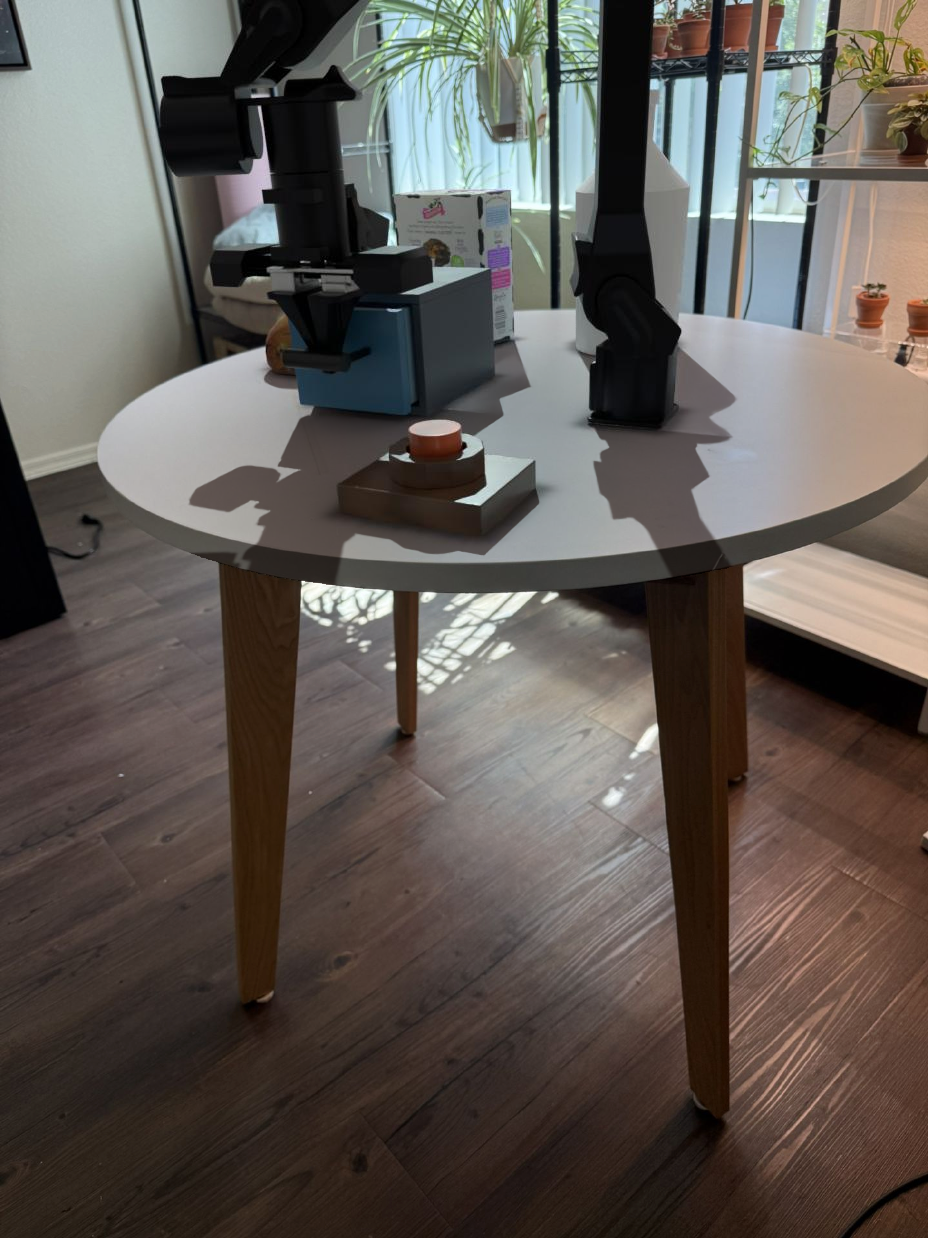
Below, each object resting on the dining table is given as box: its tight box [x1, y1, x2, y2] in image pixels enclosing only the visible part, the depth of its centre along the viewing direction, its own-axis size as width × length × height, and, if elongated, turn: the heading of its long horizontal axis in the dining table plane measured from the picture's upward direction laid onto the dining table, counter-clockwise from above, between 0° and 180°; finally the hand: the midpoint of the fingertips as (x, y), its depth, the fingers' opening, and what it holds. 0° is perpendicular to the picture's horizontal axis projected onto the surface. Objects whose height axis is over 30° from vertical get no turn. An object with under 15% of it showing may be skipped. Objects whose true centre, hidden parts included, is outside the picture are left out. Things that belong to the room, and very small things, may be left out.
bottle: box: [575, 88, 691, 356], centre depth 94 cm, size 12×12×25 cm
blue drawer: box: [282, 302, 419, 416], centre depth 81 cm, size 18×11×9 cm, turn 153°
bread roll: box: [265, 314, 296, 376], centre depth 98 cm, size 10×10×8 cm
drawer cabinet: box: [358, 267, 496, 417], centre depth 85 cm, size 15×13×11 cm
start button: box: [407, 419, 463, 458], centre depth 60 cm, size 4×4×2 cm
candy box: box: [391, 188, 515, 345], centre depth 104 cm, size 14×6×16 cm, turn 48°
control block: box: [335, 433, 537, 538], centre depth 61 cm, size 11×9×4 cm
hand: (330, 372), depth 76 cm, fingers closed, pressing on blue drawer
